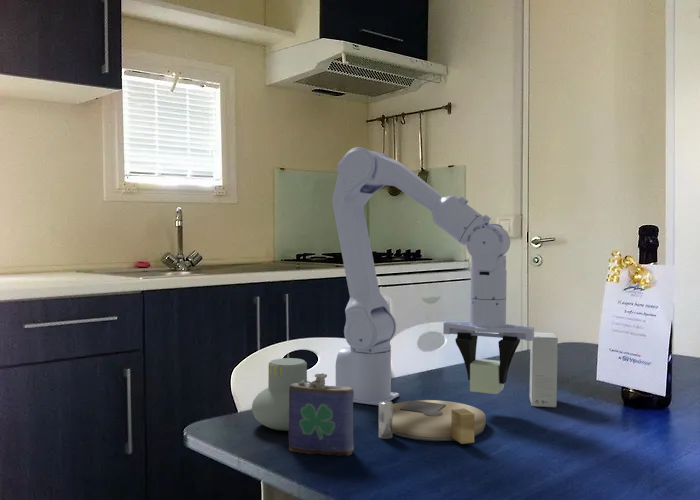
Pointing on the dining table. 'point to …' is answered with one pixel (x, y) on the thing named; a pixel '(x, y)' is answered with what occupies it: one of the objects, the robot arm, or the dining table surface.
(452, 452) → the dining table surface
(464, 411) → the disc
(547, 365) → the skincare box
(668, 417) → the dining table surface
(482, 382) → the sage block
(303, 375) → the grey bulbous piece
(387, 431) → the turntable base
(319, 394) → the flask
